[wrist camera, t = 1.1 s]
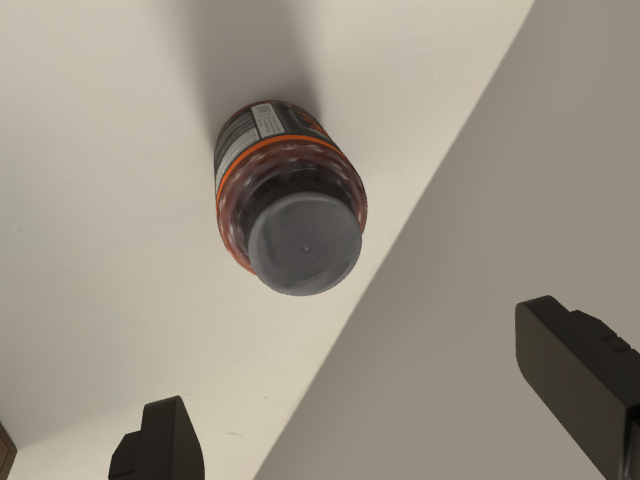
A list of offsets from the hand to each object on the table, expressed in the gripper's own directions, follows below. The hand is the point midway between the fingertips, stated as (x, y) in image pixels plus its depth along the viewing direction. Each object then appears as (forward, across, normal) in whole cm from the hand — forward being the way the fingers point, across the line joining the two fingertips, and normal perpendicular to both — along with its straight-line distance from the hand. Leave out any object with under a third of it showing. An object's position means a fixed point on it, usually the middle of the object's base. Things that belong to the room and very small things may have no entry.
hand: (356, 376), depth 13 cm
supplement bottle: (+18, 0, 0) cm, 18 cm away
